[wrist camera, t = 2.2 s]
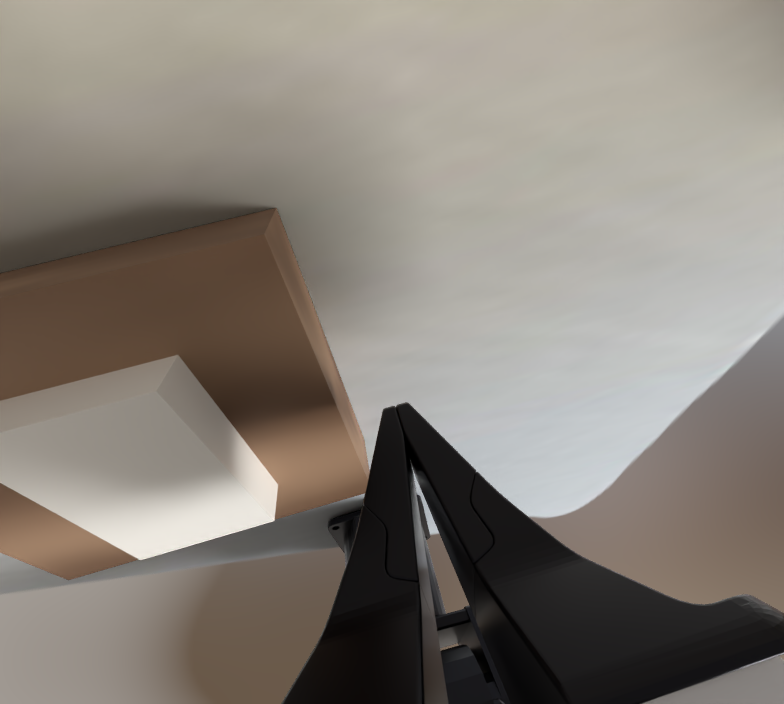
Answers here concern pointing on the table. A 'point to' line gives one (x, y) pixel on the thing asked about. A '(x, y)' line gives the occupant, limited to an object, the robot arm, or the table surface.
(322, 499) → the serving board
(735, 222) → the table surface
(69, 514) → the white rectangular block
